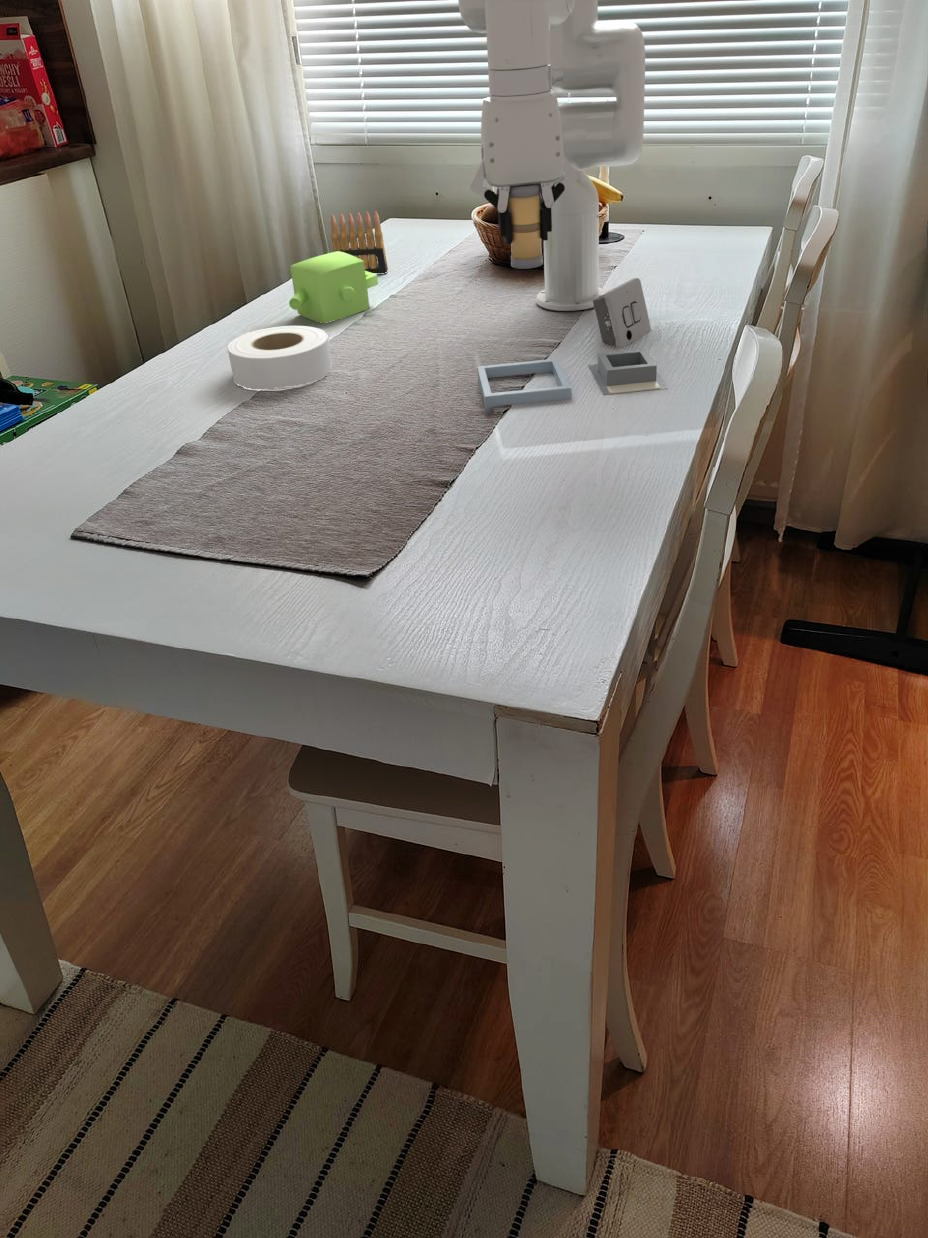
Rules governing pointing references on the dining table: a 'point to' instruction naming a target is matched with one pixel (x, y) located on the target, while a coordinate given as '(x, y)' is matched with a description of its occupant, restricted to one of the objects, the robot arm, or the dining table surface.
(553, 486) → the dining table surface
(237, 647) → the dining table surface
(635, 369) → the grey square socket holder
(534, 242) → the fuse
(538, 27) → the robot arm
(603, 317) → the electrical switch
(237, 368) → the roll of tape
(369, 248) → the ammunition clip
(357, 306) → the gearbox
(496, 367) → the tray
